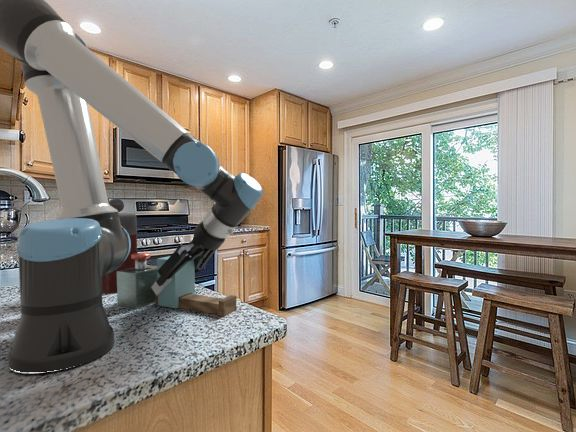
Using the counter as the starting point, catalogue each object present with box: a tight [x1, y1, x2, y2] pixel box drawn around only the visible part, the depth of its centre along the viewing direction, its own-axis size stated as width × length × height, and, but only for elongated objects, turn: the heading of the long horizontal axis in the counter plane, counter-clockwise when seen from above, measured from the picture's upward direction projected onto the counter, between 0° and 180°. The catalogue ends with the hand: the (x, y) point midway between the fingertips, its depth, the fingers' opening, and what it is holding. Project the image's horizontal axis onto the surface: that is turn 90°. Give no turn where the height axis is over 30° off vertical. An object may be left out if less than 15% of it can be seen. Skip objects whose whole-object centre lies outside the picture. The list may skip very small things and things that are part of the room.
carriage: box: [156, 255, 196, 309], centre depth 83 cm, size 6×7×12 cm
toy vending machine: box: [102, 198, 138, 295], centre depth 98 cm, size 9×11×28 cm
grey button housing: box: [116, 264, 157, 310], centre depth 84 cm, size 7×9×9 cm
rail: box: [154, 294, 237, 317], centre depth 80 cm, size 22×5×4 cm, turn 65°
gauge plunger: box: [131, 252, 151, 271], centre depth 84 cm, size 5×5×6 cm
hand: (166, 287), depth 84 cm, fingers closed on carriage, 7 cm apart
